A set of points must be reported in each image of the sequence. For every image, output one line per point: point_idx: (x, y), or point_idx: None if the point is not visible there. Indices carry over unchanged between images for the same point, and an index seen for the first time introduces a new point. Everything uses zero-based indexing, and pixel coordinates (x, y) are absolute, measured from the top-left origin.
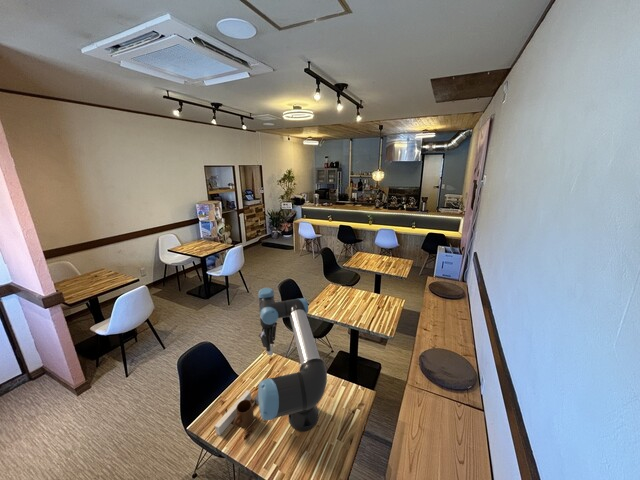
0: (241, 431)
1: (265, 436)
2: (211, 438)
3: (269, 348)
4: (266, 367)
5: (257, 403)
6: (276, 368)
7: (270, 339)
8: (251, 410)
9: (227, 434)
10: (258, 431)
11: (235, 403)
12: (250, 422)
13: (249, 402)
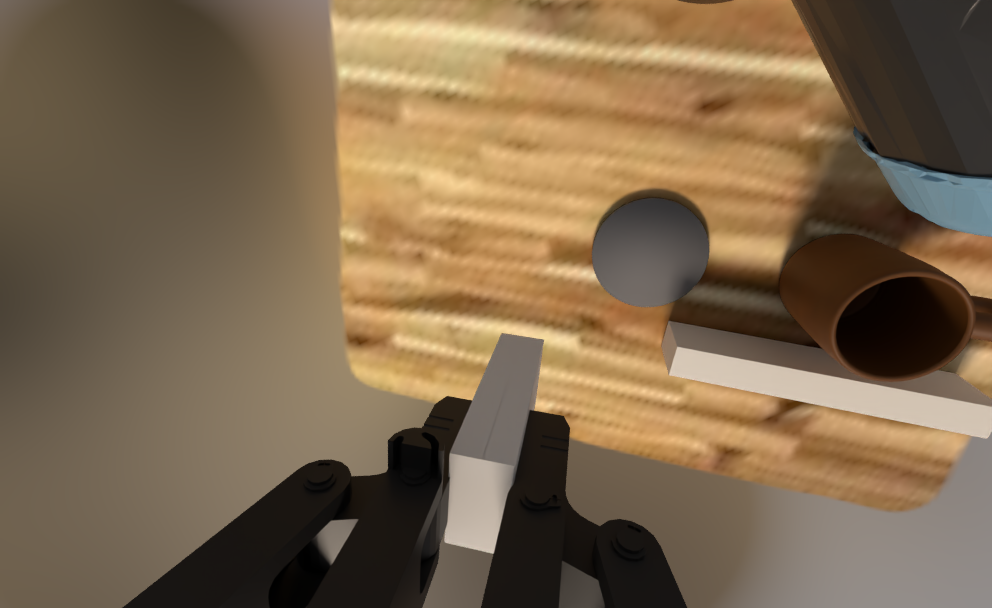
0: None
1: None
2: None
3: (534, 448)
4: (424, 339)
5: (699, 267)
6: (406, 277)
7: (404, 602)
8: (900, 260)
9: None
10: None
11: (794, 395)
12: (871, 239)
13: (832, 308)
